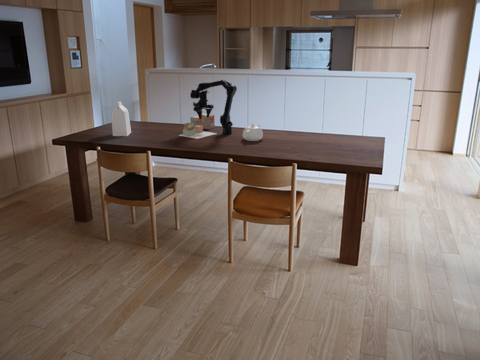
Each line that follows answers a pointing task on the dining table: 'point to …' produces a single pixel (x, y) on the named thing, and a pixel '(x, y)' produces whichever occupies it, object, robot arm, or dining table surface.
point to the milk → (120, 121)
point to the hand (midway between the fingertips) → (204, 118)
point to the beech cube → (189, 126)
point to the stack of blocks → (203, 121)
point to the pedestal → (189, 132)
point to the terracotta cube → (198, 128)
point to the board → (199, 135)
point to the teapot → (252, 133)
